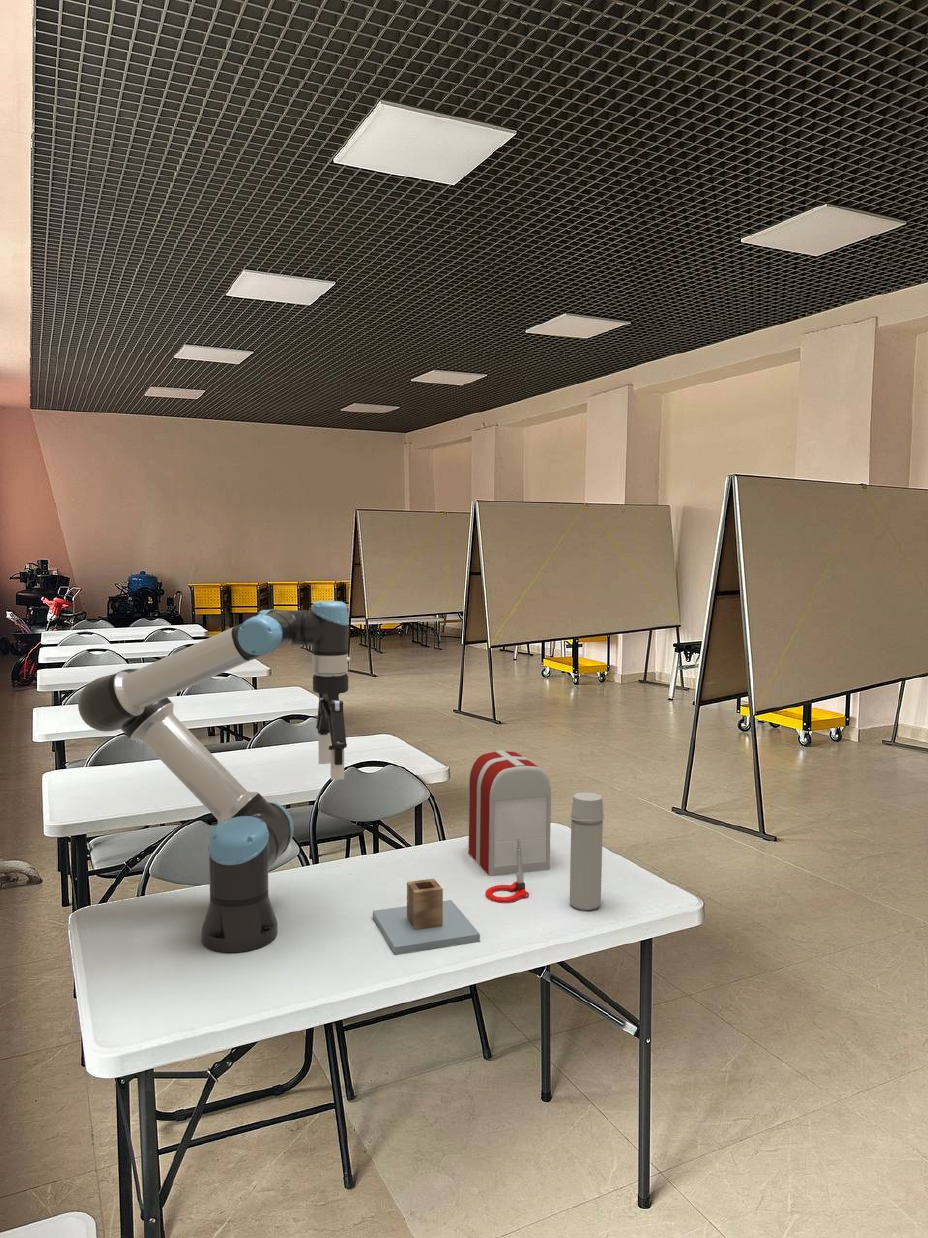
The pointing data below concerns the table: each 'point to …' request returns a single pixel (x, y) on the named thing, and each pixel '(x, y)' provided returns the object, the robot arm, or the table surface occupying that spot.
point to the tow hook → (517, 885)
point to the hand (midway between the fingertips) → (330, 771)
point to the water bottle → (586, 851)
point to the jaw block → (424, 904)
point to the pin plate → (424, 930)
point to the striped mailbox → (509, 813)
